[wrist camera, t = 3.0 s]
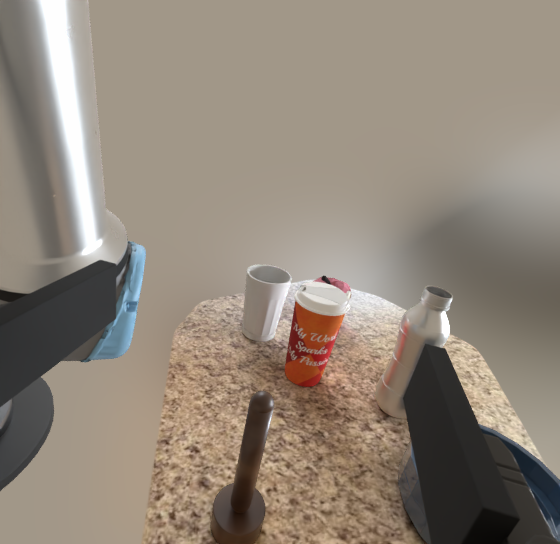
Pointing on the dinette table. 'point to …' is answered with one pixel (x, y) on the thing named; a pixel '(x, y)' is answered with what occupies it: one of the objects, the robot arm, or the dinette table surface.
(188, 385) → the dinette table surface
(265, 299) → the cup
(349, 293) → the apple
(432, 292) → the silver water bottle
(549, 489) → the bowl
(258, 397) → the wooden stamp handle
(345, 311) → the coffee cup
